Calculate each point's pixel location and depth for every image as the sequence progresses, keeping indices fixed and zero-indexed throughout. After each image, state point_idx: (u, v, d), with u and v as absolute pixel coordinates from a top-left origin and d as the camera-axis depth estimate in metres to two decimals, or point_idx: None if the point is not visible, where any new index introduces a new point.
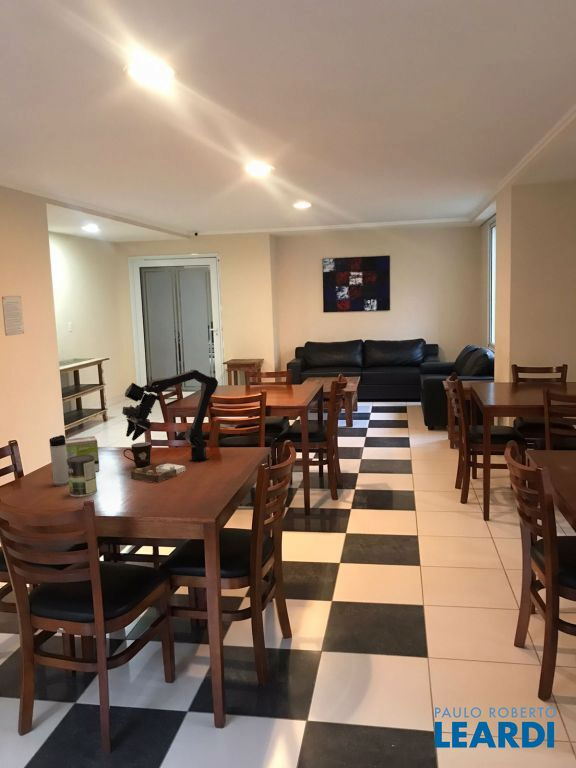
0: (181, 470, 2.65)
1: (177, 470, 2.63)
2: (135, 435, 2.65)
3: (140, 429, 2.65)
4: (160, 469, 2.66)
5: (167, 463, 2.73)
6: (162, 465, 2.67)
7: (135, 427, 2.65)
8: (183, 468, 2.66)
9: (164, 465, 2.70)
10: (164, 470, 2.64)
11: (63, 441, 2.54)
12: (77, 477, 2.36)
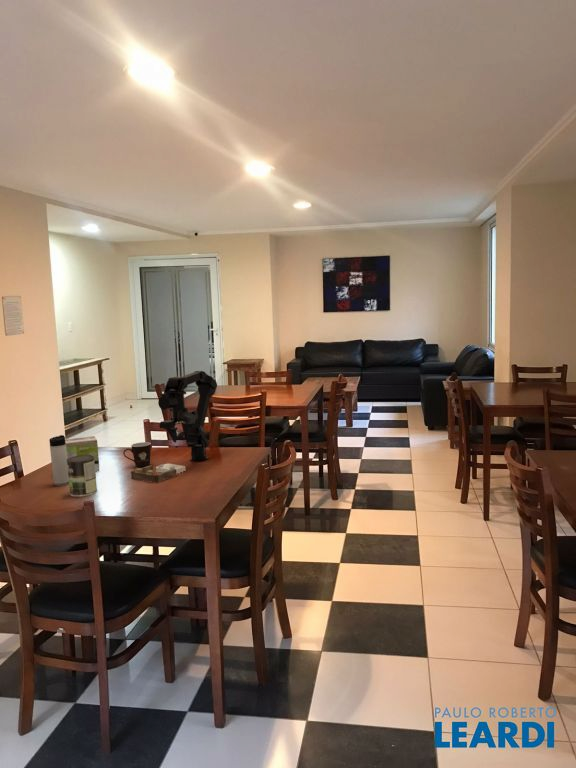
0: (181, 470, 2.65)
1: (177, 470, 2.63)
2: None
3: None
4: (160, 469, 2.66)
5: (167, 463, 2.73)
6: (162, 465, 2.67)
7: (189, 426, 2.73)
8: (183, 468, 2.66)
9: (164, 465, 2.70)
10: (164, 470, 2.64)
11: (63, 441, 2.54)
12: (77, 477, 2.36)
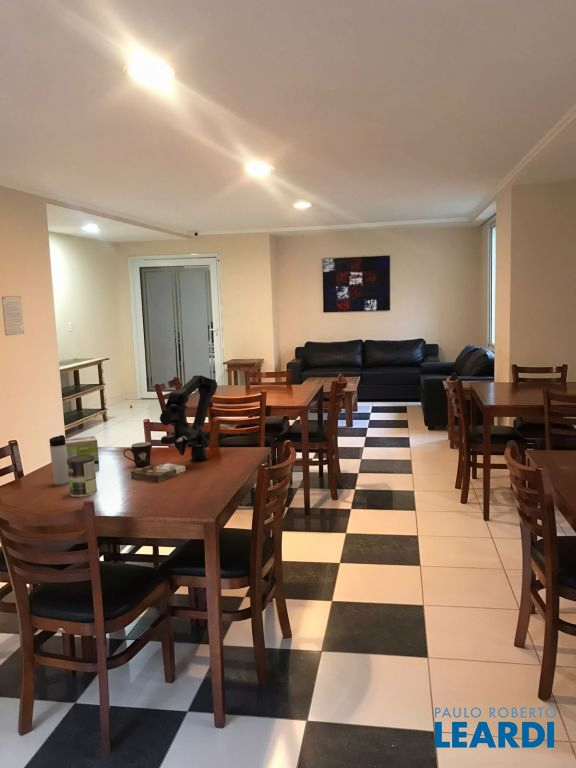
0: (181, 470, 2.65)
1: (177, 470, 2.63)
2: None
3: None
4: (160, 469, 2.66)
5: (167, 463, 2.73)
6: (162, 465, 2.67)
7: (185, 442, 2.72)
8: (183, 468, 2.65)
9: (164, 465, 2.70)
10: (164, 470, 2.64)
11: (63, 441, 2.54)
12: (77, 477, 2.36)
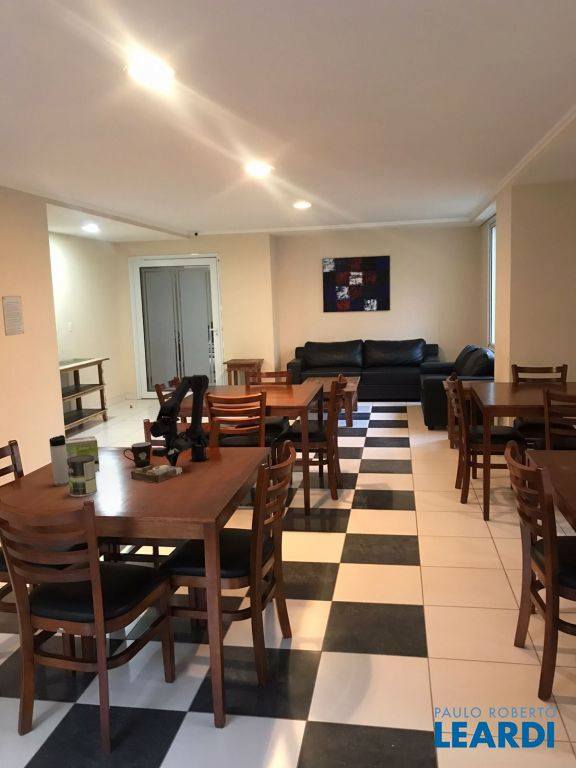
0: (177, 472, 2.63)
1: None
2: None
3: None
4: (156, 471, 2.63)
5: (163, 465, 2.71)
6: (158, 466, 2.65)
7: (177, 455, 2.68)
8: (180, 470, 2.64)
9: (160, 467, 2.68)
10: (160, 472, 2.62)
11: (63, 441, 2.54)
12: (77, 477, 2.36)
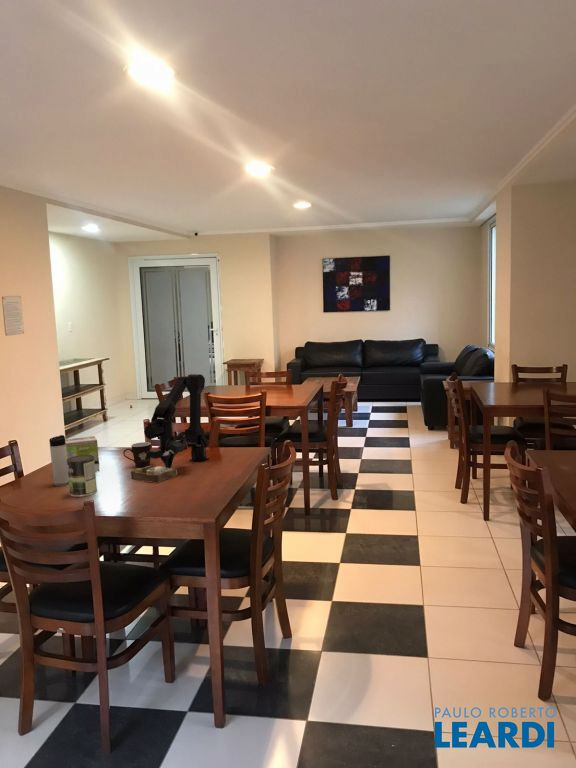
0: None
1: None
2: None
3: None
4: None
5: (158, 466, 2.68)
6: (153, 468, 2.63)
7: (172, 456, 2.65)
8: None
9: (155, 468, 2.65)
10: (155, 473, 2.60)
11: (63, 441, 2.54)
12: (77, 477, 2.36)
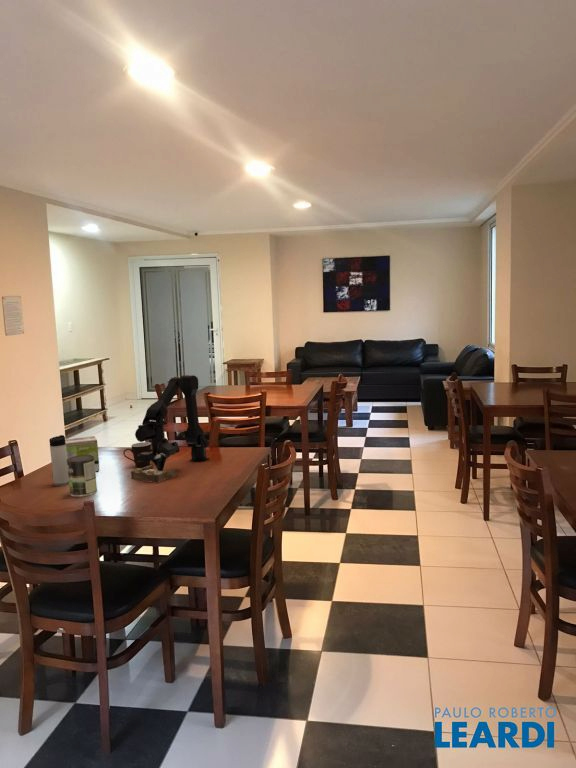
0: None
1: None
2: None
3: None
4: None
5: (150, 469, 2.64)
6: (145, 471, 2.59)
7: (164, 459, 2.61)
8: None
9: None
10: None
11: (63, 441, 2.54)
12: (77, 477, 2.36)
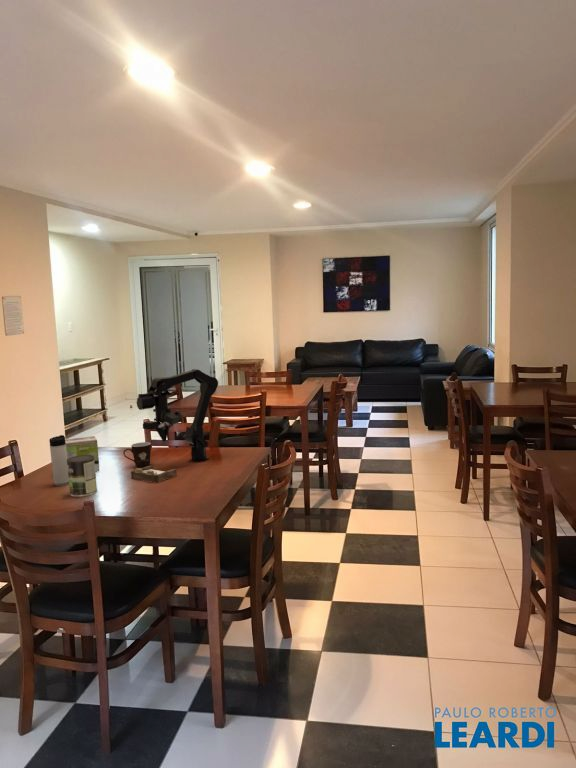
0: None
1: None
2: None
3: None
4: None
5: (151, 469, 2.65)
6: (145, 471, 2.59)
7: (167, 428, 2.72)
8: None
9: None
10: None
11: (63, 441, 2.54)
12: (77, 477, 2.36)
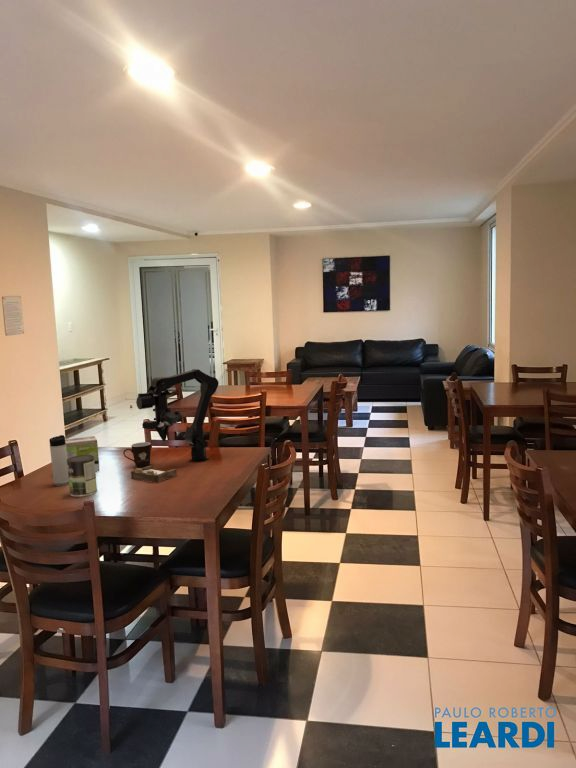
0: None
1: None
2: None
3: None
4: None
5: (151, 469, 2.65)
6: (145, 471, 2.59)
7: (167, 428, 2.73)
8: None
9: None
10: None
11: (63, 441, 2.54)
12: (77, 477, 2.36)
